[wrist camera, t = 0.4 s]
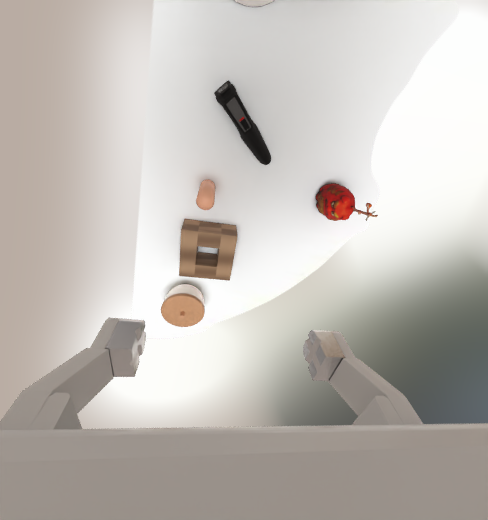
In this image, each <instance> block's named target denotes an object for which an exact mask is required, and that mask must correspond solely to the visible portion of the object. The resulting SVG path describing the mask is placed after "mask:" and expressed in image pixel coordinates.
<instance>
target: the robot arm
mask: <svg viewBox="0 0 488 520" xmlns="http://www.w3.org/2000/svg"><path fill="white" fill-rule="evenodd" d="M235 1H236V2H238V3H240V4H242V5H246V6H251V7H258V6H263V5H266V4H268V3H270V2H272V1H274V0H235ZM144 328H145V321H144V320H133V319H118V318H108V319H107V320H106V321H105V323H104V325H103V326H102V328H101V330H100V332H99V333H98V335H97V337H96V339H95V340H94V342H93V344H92V346H91V348H86V349H84V350H83V351H81V352H80V353H78V354H77V355H75V356H74V357H72V358H71V359H69V360H68V361H66V362H65V363H63V364H62V365H60V366H59V367H57V368H56V369H55V370H53V371H52V372H50V373H49V374H47V375H46V376H44V377H42V378H41V379H39V380H38V381H37V382H35V383H33V384H32V385H31V386H29V387H28V388H26V389H25V390H23V391H22V392H21V394H20V395H19V397H18V398H17V399H16V400H15V402H14V403H13V405H12V406H11V407H10V409H9V410H8V411H7V413H6V414H5V416H4V417H3V418H2V420H1V421H0V520H488V423H481V424H423V423H422V421H421V420H420V419H419V417H418V415H417V414H416V412H415V411H414V409H413V408H412V406H411V405H410V403H409V402H408V400H407V399H406V397H405V396H404V395H403V394H402V393H401V392H399V391H398V390H397V389H396V388H394V387H393V386H392V385H390V384H389V383H388V382H387V381H386V380H384V379H383V378H382V377H381V376H379V375H378V374H377V373H375V372H374V371H373V370H372V369H371V368H369V367H368V366H367V365H366V364H364V363H363V362H362V361H361V360H359V359H356V358H355V356H354V355H353V353H352V351H351V350H350V348H349V346H348V344H347V342H346V341H345V339H344V337H343V335H342V334H341V333H340V332H338V331H318V330H311V331H310V332H309V334H308V336H309V339H308V340H306V341H305V344H304V347H303V352H304V357H305V360H306V361H307V362H308V363H309V364H310V365H309V367H308V368H309V371H310V374H311V377H312V380H316V381H317V380H318V381H329V383H330V384H331V385H332V386H333V388H334V389H335V390H336V391H337V392H338V393H339V395H340V396H341V397H342V398H343V399H344V400H345V401H346V402H347V404H348V405H349V406H350V407H351V408H352V409H353V411H354V412H355V413H356V414H357V415H358V416H359V417H358V418H357V419H356V420H355V421H354V423H353V425H340V426H339V425H338V426H271V427H270V426H269V427H268V426H267V427H266V426H263V427H196V428H195V427H194V428H125V429H123V428H121V429H82V427H81V424H80V422H79V419H78V416H77V413H78V412H79V411H80V410H81V409H82V408H83V407H84V406H85V405H87V404H88V402H90V401H91V400H92V399H93V398H94V396H95V395H97V394H98V393H99V392H100V391H101V390H102V389H103V388H104V387H105V386H106V385H107V384H108V383H109V382H110V381H111V380H112V379H113V377H134V376H135V374H136V370H137V368H138V365H139V356H140V355H141V354H142V353H143V349H144V345H145V338H146V334H145V332H144Z"/></svg>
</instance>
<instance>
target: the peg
mask: <svg viewBox="0 0 488 520" xmlns="http://www.w3.org/2000/svg"><path fill="white" fill-rule="evenodd" d="M214 197H215V184H214V183H213V182H212V181H211V180H204V181H203V182H202V183H201V185H200V189H199V192H198V196H197V199H196V203H197V205H198V207H199V208H201V209H203V210H209V209H211V208H212V207H213V205H214Z"/></svg>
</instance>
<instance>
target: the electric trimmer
mask: <svg viewBox="0 0 488 520" xmlns="http://www.w3.org/2000/svg"><path fill="white" fill-rule="evenodd" d="M215 95H216V99H217V101H218V102H219V103H220V104H221V105H222V106H223V108H224V109H225V111H226V112H227V114H228V115H229V116H230V118H231V119H232V121H233V122H234V124H235V125H236V127H237V129H238V131H239V133H240V135H241V138H242V139H243V141H244V142H245V144H246V145H247V146H248V147H249V149H250V150H251V151H252V153H253V154H254V155H255V156H256V158H257V159H258V160H259V161H260V163H262V164H265V165H267V164H269V163H270V162H271V155H270V153H269V151H268V148H267V146H266V144H265V142H264V140H263V138H262V136H261V134H260V132H259V130H258V128H257V126H256V125H255V124H254V123H253V121H252V120H251V118H250V116H249V115H248V113H247V111H246V109H245V107H244V106H243V104H242V102H241V100H240V98H239V96H238V94H237V92H236V89H235V87H234V86H233V85H232V84H231V83H230V82H229V81H227V82H226V83H224V84H223V85H222V86H221V87H220V88H219V89H218V90H217V91H216V92H215Z"/></svg>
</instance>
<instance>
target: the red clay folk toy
mask: <svg viewBox="0 0 488 520" xmlns="http://www.w3.org/2000/svg"><path fill="white" fill-rule="evenodd" d="M316 199H317V201H318V202H317V204H316V206H317V208H318V210H319V212H320V213H322V214H323V215H325V216H326V217H327V218H328V219H330V220H334V221H337V220H346V219H348V218H349V216H350V215H351V214H352V212H353V211H356V212H358V214H361V213H362V214H365V215H367V216H368V217H369V216H373V217H377V216H378V215H372V213H369V208H370V207H371V206H372V205H371V204H370V203H367V204H366V206H367V212H363V211H361V210H357V209H355V198H354V196H353V194H352V193H351V192H350V191H349V190H348V189H347V188H345V187H344V186H341V185H339V184H328V185H325V186H323V187H321V188H320V191H319V193H318V194H317V195H316ZM373 213H374V212H373ZM368 217H367V218H368ZM367 218H366V221H367Z"/></svg>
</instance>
